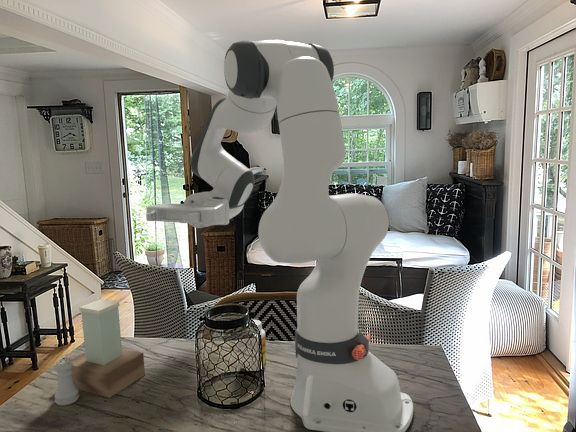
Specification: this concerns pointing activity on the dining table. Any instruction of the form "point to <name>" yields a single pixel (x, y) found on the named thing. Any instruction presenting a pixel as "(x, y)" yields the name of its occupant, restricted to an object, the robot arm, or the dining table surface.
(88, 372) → the walnut block
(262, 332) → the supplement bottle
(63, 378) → the rook chess piece
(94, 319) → the sage tin
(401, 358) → the dining table surface
